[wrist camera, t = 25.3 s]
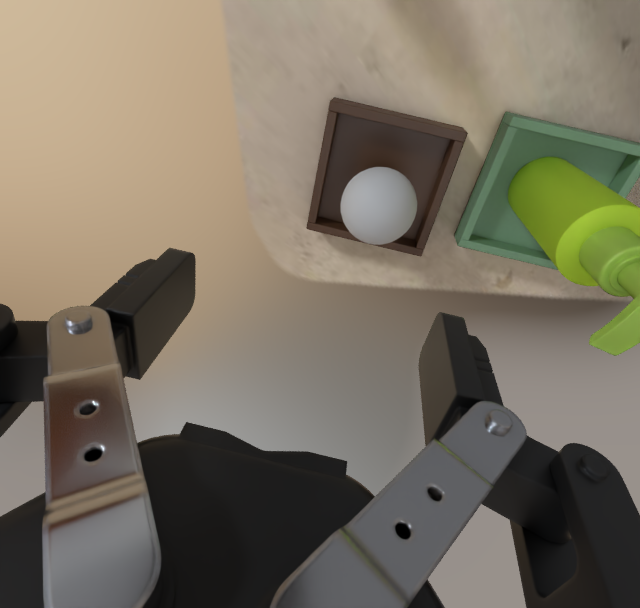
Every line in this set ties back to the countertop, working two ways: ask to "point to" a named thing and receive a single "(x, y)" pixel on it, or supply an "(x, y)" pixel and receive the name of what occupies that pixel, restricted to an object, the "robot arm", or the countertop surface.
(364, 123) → the walnut tray
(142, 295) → the robot arm
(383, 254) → the countertop surface
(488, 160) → the green tray
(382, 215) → the lightbulb
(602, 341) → the soap dispenser
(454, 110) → the countertop surface
